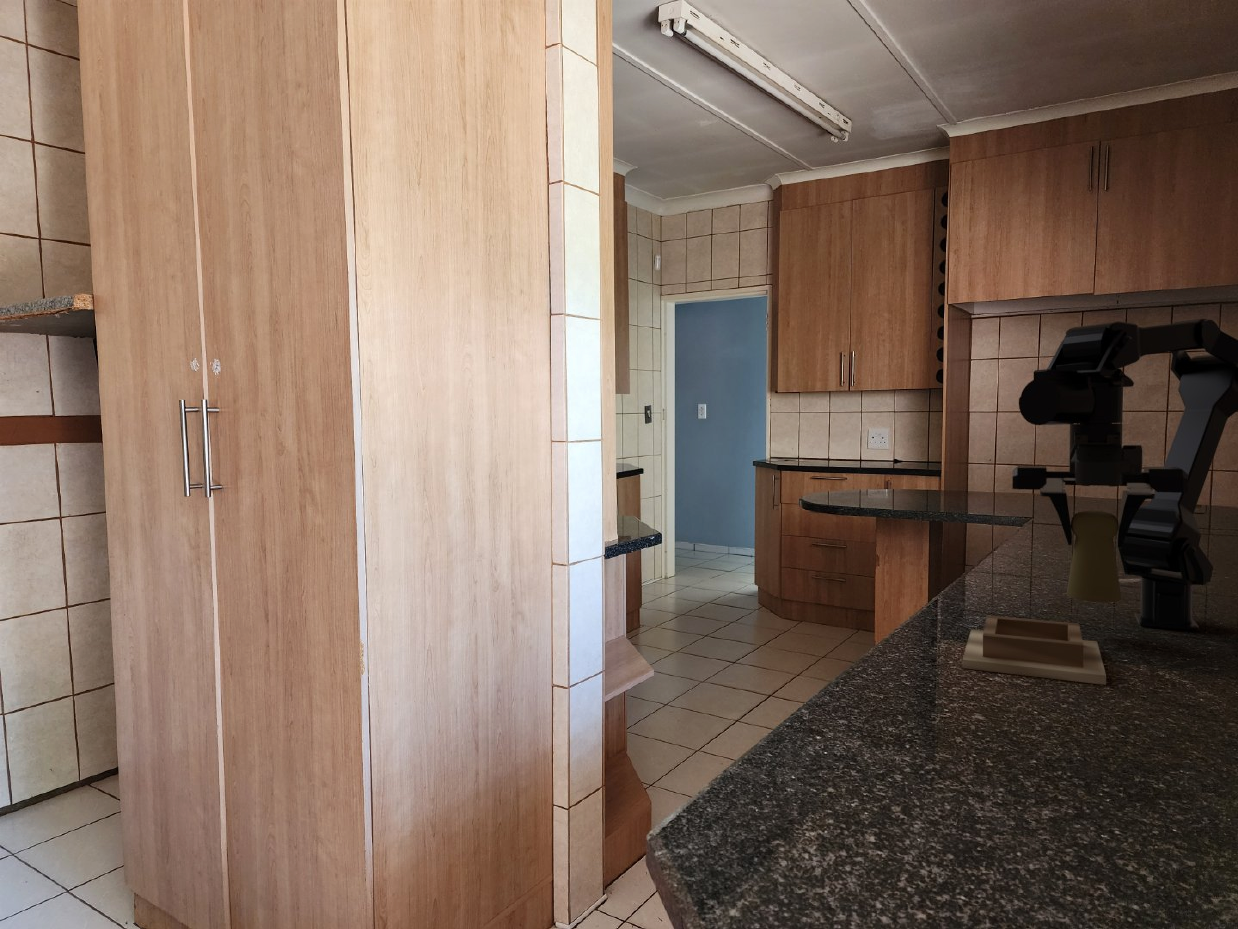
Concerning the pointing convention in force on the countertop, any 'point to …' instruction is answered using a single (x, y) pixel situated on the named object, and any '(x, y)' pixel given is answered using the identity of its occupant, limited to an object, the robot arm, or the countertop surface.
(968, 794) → the countertop surface
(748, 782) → the countertop surface
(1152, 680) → the countertop surface
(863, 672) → the countertop surface
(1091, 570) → the cork
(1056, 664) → the socket board
